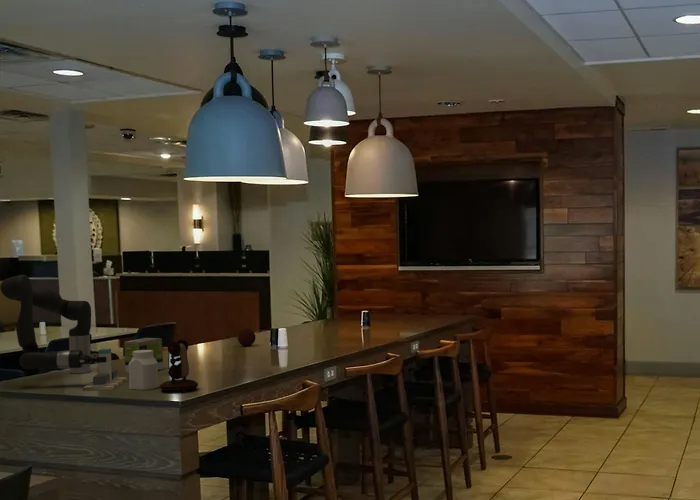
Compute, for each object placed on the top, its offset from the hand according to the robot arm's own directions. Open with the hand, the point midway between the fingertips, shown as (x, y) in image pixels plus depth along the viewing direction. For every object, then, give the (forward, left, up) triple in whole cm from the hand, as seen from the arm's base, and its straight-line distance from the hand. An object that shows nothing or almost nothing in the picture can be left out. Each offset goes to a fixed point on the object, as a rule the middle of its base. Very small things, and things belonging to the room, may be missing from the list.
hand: (109, 358), depth 365 cm
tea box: (-38, +6, -11) cm, 40 cm away
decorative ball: (-125, +45, -11) cm, 133 cm away
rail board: (0, -2, -11) cm, 11 cm away
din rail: (0, -2, -10) cm, 10 cm away
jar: (+10, +16, -11) cm, 22 cm away
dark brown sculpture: (+19, +32, -11) cm, 39 cm away
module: (0, -2, -9) cm, 9 cm away
